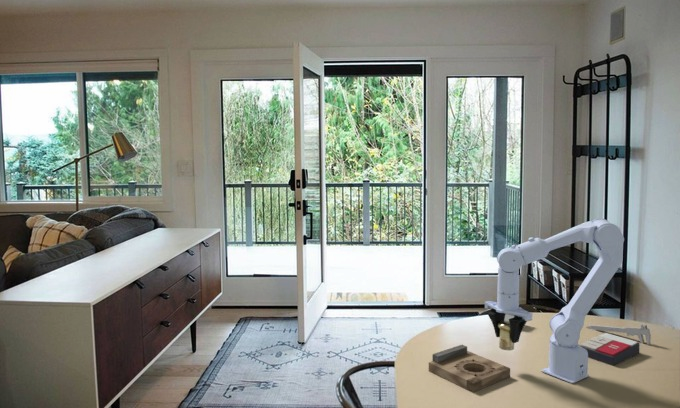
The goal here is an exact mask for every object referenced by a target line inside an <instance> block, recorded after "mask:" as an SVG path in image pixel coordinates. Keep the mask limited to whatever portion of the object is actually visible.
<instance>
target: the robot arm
mask: <svg viewBox="0 0 680 408" xmlns="http://www.w3.org/2000/svg"><path fill="white" fill-rule="evenodd" d="M578 242H582V243H588V244H595V246H596V247H595V248H596V250H597V253H598V256H599V258H598V259H597V260H596V262H595V263H594V264H593V266H592V268H591V270H590V271H589V272H588V274H587V276H586V277H585V278H584V280H583V281H582V283H581V284H580V286H579V288H578V289H577V290H576V291H575V294H574V295H573V296H572V298H571V299H570V301H569V302H568V304H566V305H565V306H563V307H562V308H561V309H560V311H559V312H557V313H556V314H554V315H552V317H550V320H549V323H548V325H549V328H550V330H551V332H552V334H551V336H550V337H549V347H548V367H545V368H542V369H541V372H543V373H545V374H547V375H550V376H552V377H554V378H558V379H560V380H562V381H564V382H565V381H566V382H568V383H570V384H575V383H578V381H581V380H583V379H585V378H587V377H589V376H590V374H589V373H588V369H589V358H588V352H587V350H586V349H584V348H582V347H581V346H580V343H579V341H580V335H581V331H582V329H583V328H584V325H585V319H586V316H587V315H588V314H589V312H590V310H591V309H592V307H593V306H594V304H595V303H596V302H597V300H598V299H599V297H600V295H601V294H602V293H603V292H604V290H605V288H606V287H607V286H608V284H609V282H610V281H611V280H612V278H613V277H614V275H615V274H616V273H617V271H618V269H620V267H621V265H622V263H623V257H624V256H623V254H624V253H623V252H624V251H623V250H624V242H625V237H624V235H623V233H622V231H621V229H620V227H619V226H617V225H616V224H615V223H611V222H610V221H609V220H608V219H605V218H595V219H593V220H591V221H585V222H583V223H579V224H578V225H576V226H573V227H571V228H569V229H566V230H564V231H561V232H559V233H556V234H555V235H551V236H550V237H548V238H540V237H535V238H534V237H533V236H532V237H531V236H530V237H529V238H528V240H527V241H525V242H522V243H520V244H513V245H511V247H510V248H509V247H505V248H503V249H501V250H500V251H499V252H498V254H497V256H496V260H497V263H498V269H497V273H498V274H497V289H496V291H497V294H496V299H497V302H496V301H492V300H487V301H484V309H486V310H489V309H490V311H489V312H487V315H488V317H489V320H490V321H491V323H492V325H493V329H494V334H495V337H496V338H500V328H499V327H498V322H499V321H504V318H505V315H506V314H508V315H511V316H514V318H511V319H509V322H510V326H511V340H512V343H514V344H515V343H519V342H520V337H521V335H522V332H523V329H524V327H525V325H526V324H527V322H530V321H531V322H532V321H533V313H532V312H529V311H527V310H525V309H523V308H522V307H520V306H519V305H520V303H519V302H520V298H519V297H520V275H519V270H520V269H521V267H522V266H526V265H528V264H531V263H534V262H537V261H540V260H541V259H544V258H547V257H548V254H549V252H551V251H553V250H556V249H559V248H560V249H561V248H562V247H565V246H568V245H572V244H574V243H578Z"/></svg>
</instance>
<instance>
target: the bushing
mask: <svg viewBox="0 0 680 408" xmlns="http://www.w3.org/2000/svg"><path fill="white" fill-rule="evenodd" d="M498 327H499V328H500V337H499V339H498V341H499V343H498V344H499V345H498V348H499V349H501V350H503V351H514V349H515V343H512V340H511V326H510V322H509V321H499V322H498Z"/></svg>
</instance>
